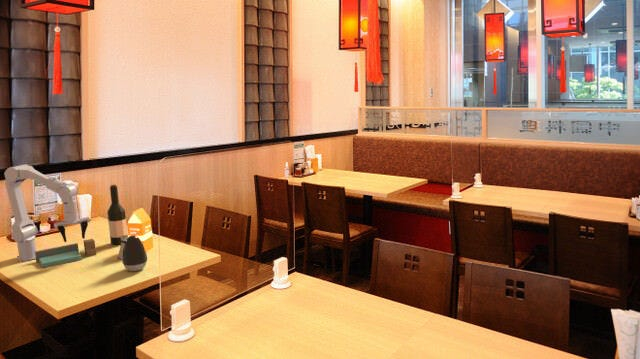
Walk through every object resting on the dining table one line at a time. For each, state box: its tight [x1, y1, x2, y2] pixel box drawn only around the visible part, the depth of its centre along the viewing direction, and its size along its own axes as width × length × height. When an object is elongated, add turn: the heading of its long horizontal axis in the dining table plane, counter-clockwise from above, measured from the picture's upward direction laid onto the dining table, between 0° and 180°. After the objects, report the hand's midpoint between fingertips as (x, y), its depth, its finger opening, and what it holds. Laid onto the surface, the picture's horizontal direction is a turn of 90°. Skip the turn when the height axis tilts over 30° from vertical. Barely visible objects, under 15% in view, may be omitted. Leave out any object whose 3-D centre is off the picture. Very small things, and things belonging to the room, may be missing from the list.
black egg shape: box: [121, 235, 148, 272], centre depth 220 cm, size 10×10×15 cm
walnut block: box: [83, 238, 97, 257], centre depth 242 cm, size 4×4×7 cm
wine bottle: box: [107, 184, 128, 247], centre depth 256 cm, size 8×8×30 cm
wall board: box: [35, 243, 83, 269], centre depth 235 cm, size 12×18×5 cm, turn 127°
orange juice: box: [126, 207, 154, 253], centre depth 245 cm, size 8×9×20 cm
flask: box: [117, 235, 128, 260], centre depth 237 cm, size 7×7×10 cm
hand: (74, 239), depth 234 cm, fingers open, 7 cm apart
